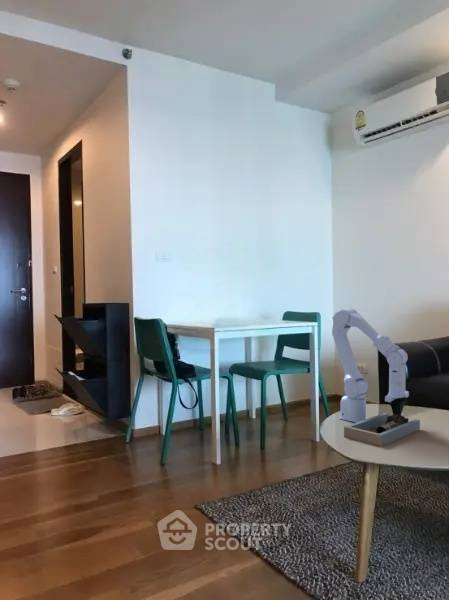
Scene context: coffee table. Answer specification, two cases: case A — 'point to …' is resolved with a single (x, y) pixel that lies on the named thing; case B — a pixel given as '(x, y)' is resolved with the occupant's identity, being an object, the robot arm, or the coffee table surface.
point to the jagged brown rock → (392, 423)
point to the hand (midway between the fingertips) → (397, 418)
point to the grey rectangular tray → (361, 433)
